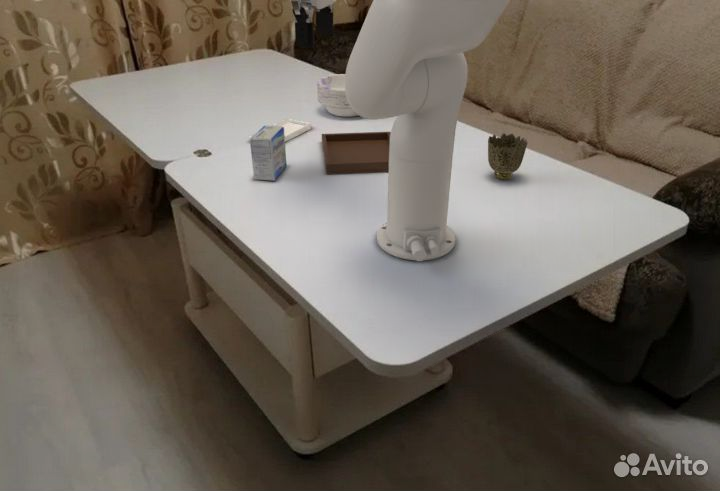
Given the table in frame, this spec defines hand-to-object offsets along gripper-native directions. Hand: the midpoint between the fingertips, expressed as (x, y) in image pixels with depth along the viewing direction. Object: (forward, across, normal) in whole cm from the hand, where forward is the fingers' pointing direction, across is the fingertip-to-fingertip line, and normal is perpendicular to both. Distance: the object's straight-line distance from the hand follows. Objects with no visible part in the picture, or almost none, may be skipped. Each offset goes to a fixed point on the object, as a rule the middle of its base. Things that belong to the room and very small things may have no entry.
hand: (315, 40), depth 106 cm
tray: (+26, +12, -5) cm, 29 cm away
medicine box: (+26, -2, +10) cm, 28 cm away
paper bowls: (+27, +40, +7) cm, 49 cm away
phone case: (+27, +19, +16) cm, 37 cm away
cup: (+26, +10, -35) cm, 45 cm away
